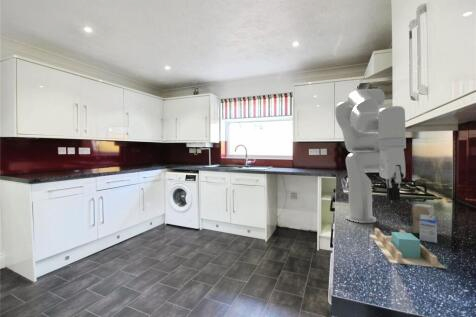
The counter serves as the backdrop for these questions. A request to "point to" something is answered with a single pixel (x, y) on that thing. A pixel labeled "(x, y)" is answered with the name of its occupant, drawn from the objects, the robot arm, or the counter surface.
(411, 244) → the block
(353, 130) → the robot arm
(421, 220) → the medicine box
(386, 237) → the channel
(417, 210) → the box
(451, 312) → the counter surface
